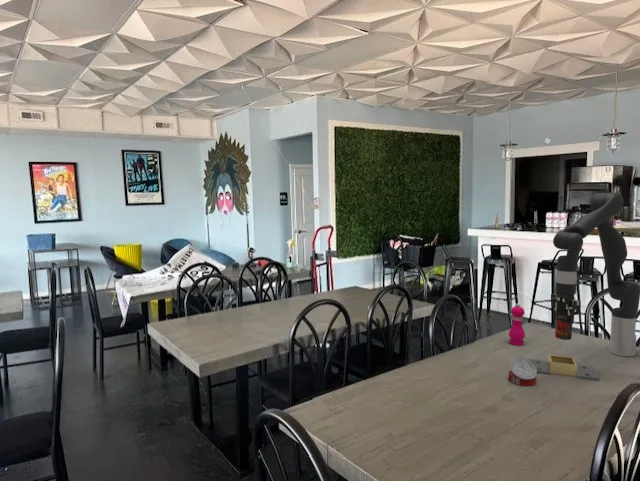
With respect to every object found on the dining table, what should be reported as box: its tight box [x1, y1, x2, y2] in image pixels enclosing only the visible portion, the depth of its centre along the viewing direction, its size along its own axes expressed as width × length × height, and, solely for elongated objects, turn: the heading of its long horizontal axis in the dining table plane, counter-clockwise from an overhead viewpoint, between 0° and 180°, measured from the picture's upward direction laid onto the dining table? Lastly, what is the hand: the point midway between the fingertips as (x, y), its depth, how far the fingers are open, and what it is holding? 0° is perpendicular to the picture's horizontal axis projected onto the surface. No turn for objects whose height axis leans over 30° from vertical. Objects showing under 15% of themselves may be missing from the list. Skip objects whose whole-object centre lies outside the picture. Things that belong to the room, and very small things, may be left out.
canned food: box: [508, 356, 538, 387], centre depth 178 cm, size 11×10×10 cm
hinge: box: [528, 354, 600, 382], centre depth 188 cm, size 25×13×4 cm, turn 68°
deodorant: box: [554, 301, 573, 341], centre depth 186 cm, size 6×6×15 cm
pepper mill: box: [508, 303, 526, 347], centre depth 221 cm, size 7×7×20 cm
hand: (564, 321), depth 186 cm, fingers closed on deodorant, 6 cm apart
